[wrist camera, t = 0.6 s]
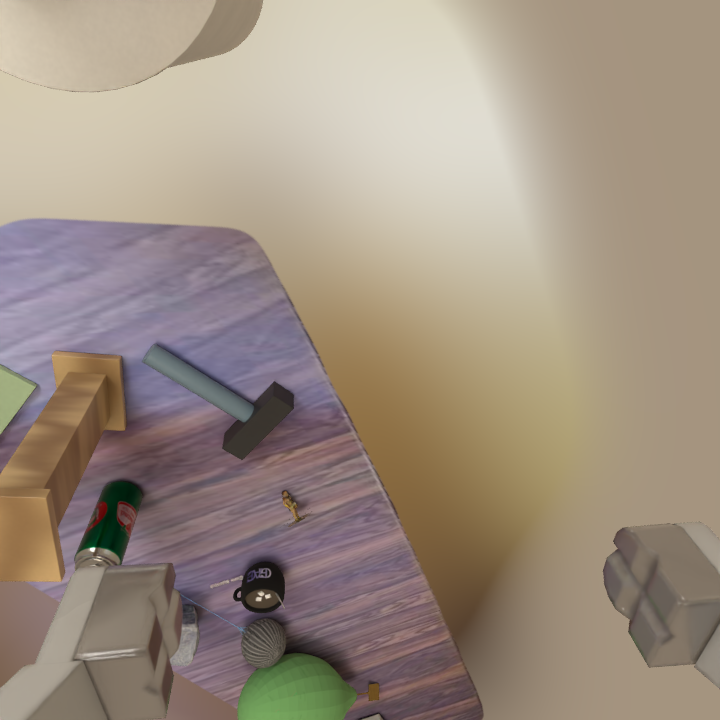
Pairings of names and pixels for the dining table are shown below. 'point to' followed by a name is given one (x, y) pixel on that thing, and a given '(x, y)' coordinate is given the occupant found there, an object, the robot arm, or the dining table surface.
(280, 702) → the balloon
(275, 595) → the mug
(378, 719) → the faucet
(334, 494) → the dining table surface
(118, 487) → the soda can
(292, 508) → the soldier figurine
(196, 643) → the rock
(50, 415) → the stand
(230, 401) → the hammer
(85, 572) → the robot arm
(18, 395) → the mat
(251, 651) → the lollipop
